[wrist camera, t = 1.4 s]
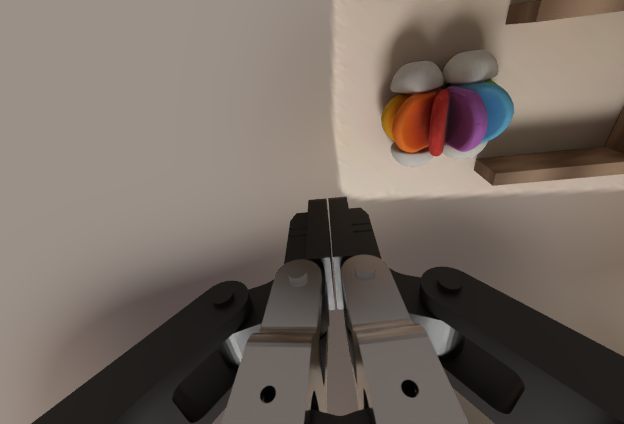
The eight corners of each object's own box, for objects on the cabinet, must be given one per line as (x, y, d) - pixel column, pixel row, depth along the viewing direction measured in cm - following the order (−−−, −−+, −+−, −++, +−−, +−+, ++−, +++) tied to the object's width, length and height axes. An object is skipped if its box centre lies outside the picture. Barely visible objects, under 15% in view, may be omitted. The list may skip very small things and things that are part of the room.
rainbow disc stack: (375, 67, 23) (396, 77, 17) (495, 43, 22) (562, 45, 16) (380, 160, 28) (397, 194, 22) (480, 144, 27) (528, 175, 21)
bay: (699, -20, 20) (765, -31, 17) (612, 157, 27) (648, 171, 24) (509, 5, 21) (541, -1, 18) (474, 170, 28) (492, 185, 25)
